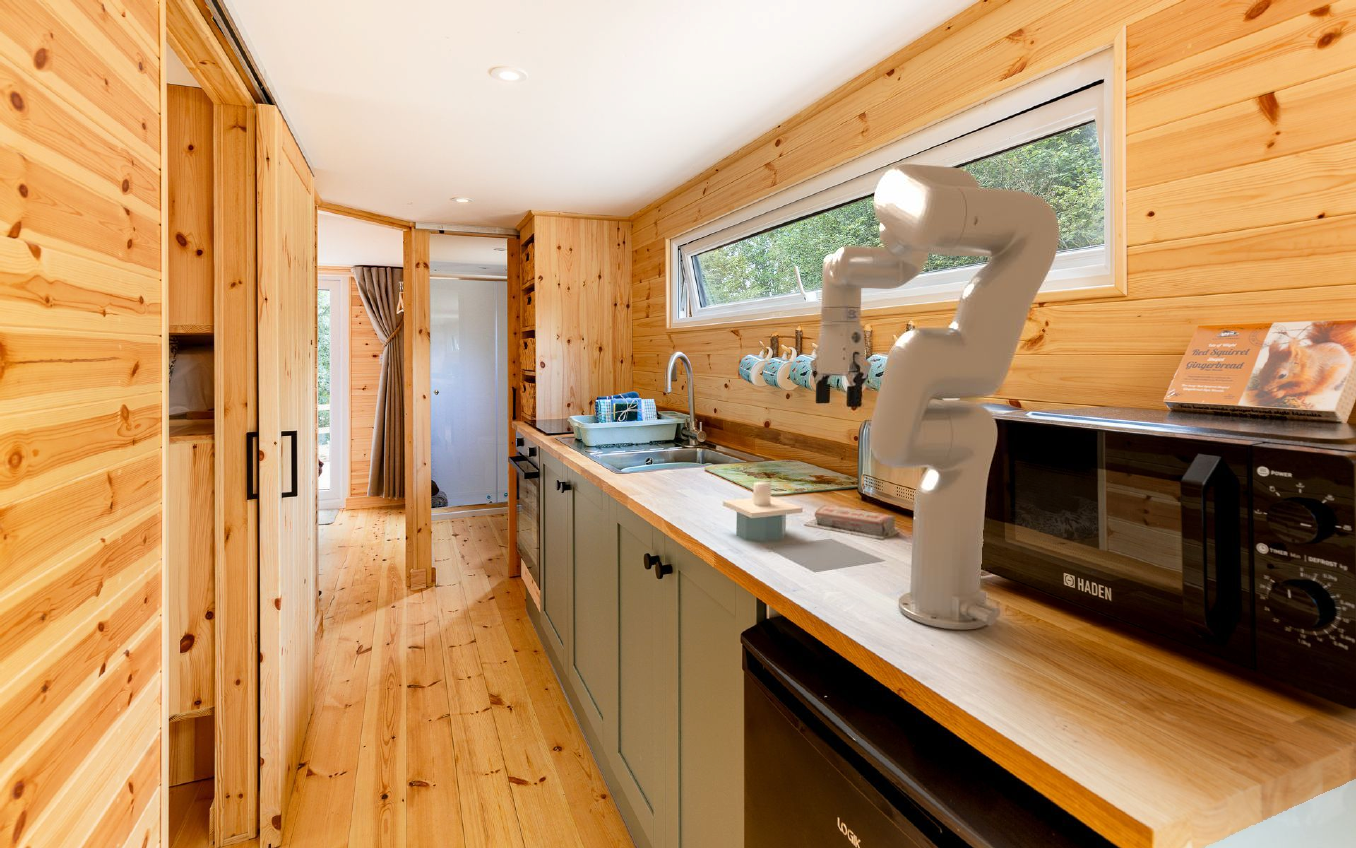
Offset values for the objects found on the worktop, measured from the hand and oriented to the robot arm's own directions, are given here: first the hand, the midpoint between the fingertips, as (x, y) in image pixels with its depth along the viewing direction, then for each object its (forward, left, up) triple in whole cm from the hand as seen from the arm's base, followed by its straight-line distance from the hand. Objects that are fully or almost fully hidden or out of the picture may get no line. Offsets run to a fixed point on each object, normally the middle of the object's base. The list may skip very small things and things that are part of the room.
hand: (837, 404), depth 129 cm
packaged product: (+7, -10, -29) cm, 32 cm away
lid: (+10, +11, -22) cm, 27 cm away
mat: (-6, +7, -28) cm, 30 cm away
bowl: (+10, +11, -28) cm, 32 cm away
